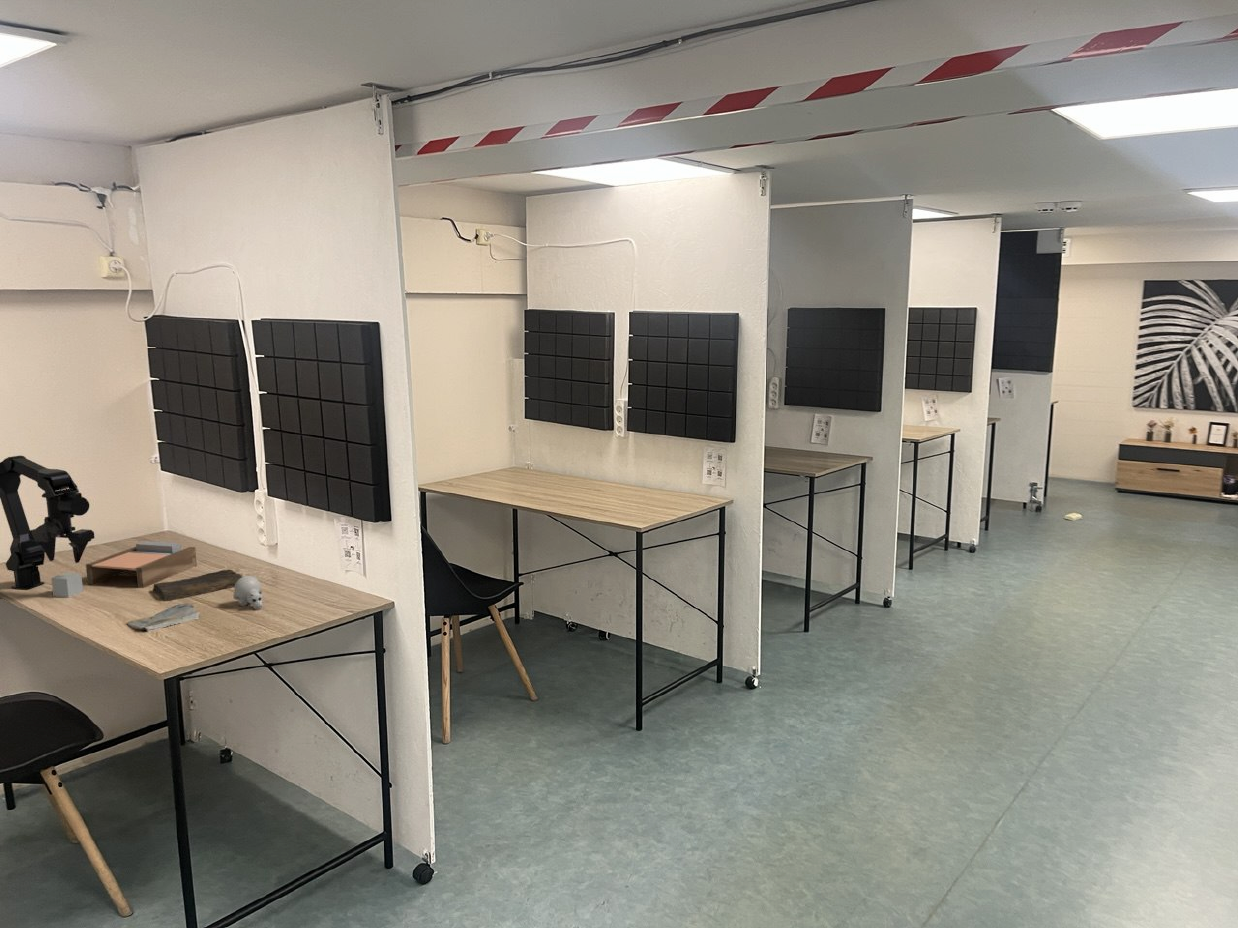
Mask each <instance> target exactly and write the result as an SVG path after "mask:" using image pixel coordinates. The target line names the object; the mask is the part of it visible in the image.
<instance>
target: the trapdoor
mask: <svg viewBox="0 0 1238 928" xmlns="http://www.w3.org/2000/svg"><path fill="white" fill-rule="evenodd" d="M135 547H136V550H137V551H129V552H128V553H125V554H122V555H119V556H117V557H114V558H111V559H108V560H105V561H103V562H100V563H97V564H94V565H92V567H98V568H112V569H127V570H129V571H136V568H137V567H139V566H142V565H144V564H147V563H150V562H152V561H155V560H157V559H160V558H163V557H165V556H168V555H170V554H173V553H176V552H178V551H181V550H182V548H181V543H179V542H163V541H152V540H150V541H149V540H147V541H146V540H144V541H141V542H139V543H136V544H135Z"/></svg>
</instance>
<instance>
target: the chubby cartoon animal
mask: <svg viewBox="0 0 1238 928" xmlns="http://www.w3.org/2000/svg"><path fill="white" fill-rule="evenodd" d="M261 589H262V587H261V583H260V581H259V579H258V578H257V577H254V576H252V575H246V576H245V575H244V576H242V578H240V579H239V580H238V581H237V582H236V584H235V586H234V592H233V599H234V600H236V601H237V600H238V602H237V604H238V605H239V606H241V607H245V605H246V606H247V605H248V604H250V605H252V607H253V609H255V610H260V609H262V608H263V607H264V604H263V590H261ZM259 608H260V609H259Z"/></svg>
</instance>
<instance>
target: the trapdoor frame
mask: <svg viewBox="0 0 1238 928" xmlns="http://www.w3.org/2000/svg"><path fill="white" fill-rule="evenodd" d="M129 551H137V550H136V546H133V547H131V548H128V549H125V550H122V551H120V552H117V553H114V554H111V555H109V556H106V557H103V558H99V559H96V560H95V561H91V562H88V563H86V564H85V568H86V569H85V570H86V579H87V584H88V585H95V584H97V583H99V582H100V583H101V582H102V581H105V580H107V579H111V578H113V577H116V576H117V575H121V574H124V573H126V572H129V571H130V570H127V569H112V568H98V567H92V565H94V564H97V563H100V562H103V561H105V560H108V559H111V558H114V557H117V556H119V555H122V554H125V553H128V552H129ZM197 565H198V562H197V551H196V547H195V546H189V547H186V548H183V549H181V551H178V552H176V553H173V554H170V555H168V556H165V557H163V558H160V559H157V560H155V561H152V562H150V563H147V564H144V565H142V566H139V567H137V568H136V570H135V571H136V579H137V588H139V589H140V588H142V589H143V588H147V587H149V586H151V585H154V584H157V583H160V582H161V581H162V580H165V579H168V578H171V577H172V576H173V577H174V576H175V575H177V574H179V573H182V572H184V571H186V570H190V569H191V568H194V567H196V566H197Z"/></svg>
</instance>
